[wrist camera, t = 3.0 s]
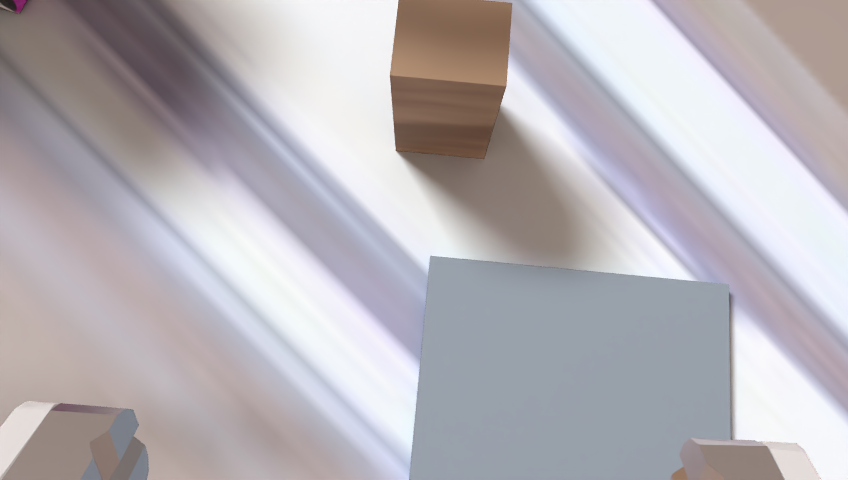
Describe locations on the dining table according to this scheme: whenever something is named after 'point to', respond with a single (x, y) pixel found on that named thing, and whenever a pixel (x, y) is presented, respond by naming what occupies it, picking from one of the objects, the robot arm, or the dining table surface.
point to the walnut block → (448, 74)
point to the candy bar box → (12, 5)
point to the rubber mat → (566, 373)
